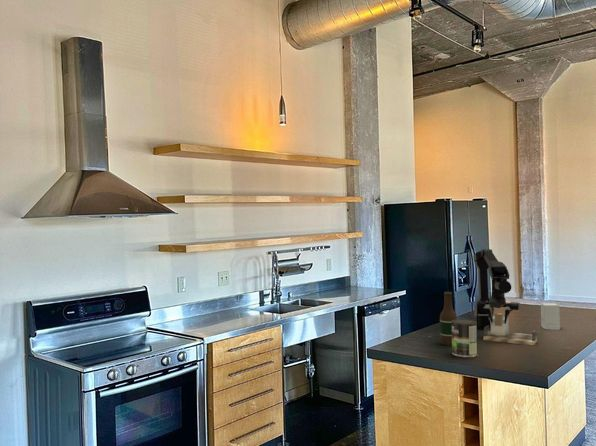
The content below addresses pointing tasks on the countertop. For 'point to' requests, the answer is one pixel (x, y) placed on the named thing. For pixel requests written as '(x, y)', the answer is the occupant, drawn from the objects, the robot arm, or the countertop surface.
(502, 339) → the rail base
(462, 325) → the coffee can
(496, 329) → the carriage
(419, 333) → the countertop surface
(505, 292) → the robot arm
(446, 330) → the beer bottle
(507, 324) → the box
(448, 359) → the countertop surface
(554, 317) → the supplement box
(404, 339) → the countertop surface
